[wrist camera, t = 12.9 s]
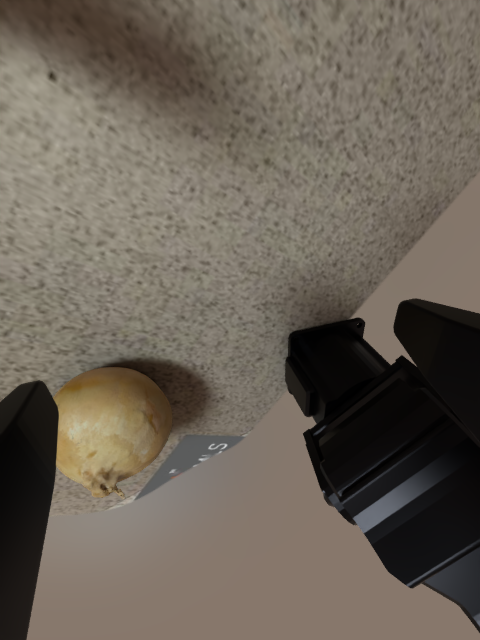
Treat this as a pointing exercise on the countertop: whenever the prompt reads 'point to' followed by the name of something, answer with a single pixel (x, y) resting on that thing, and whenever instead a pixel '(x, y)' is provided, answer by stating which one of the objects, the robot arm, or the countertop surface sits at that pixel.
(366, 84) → the countertop surface
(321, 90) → the countertop surface
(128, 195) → the countertop surface
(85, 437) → the onion
